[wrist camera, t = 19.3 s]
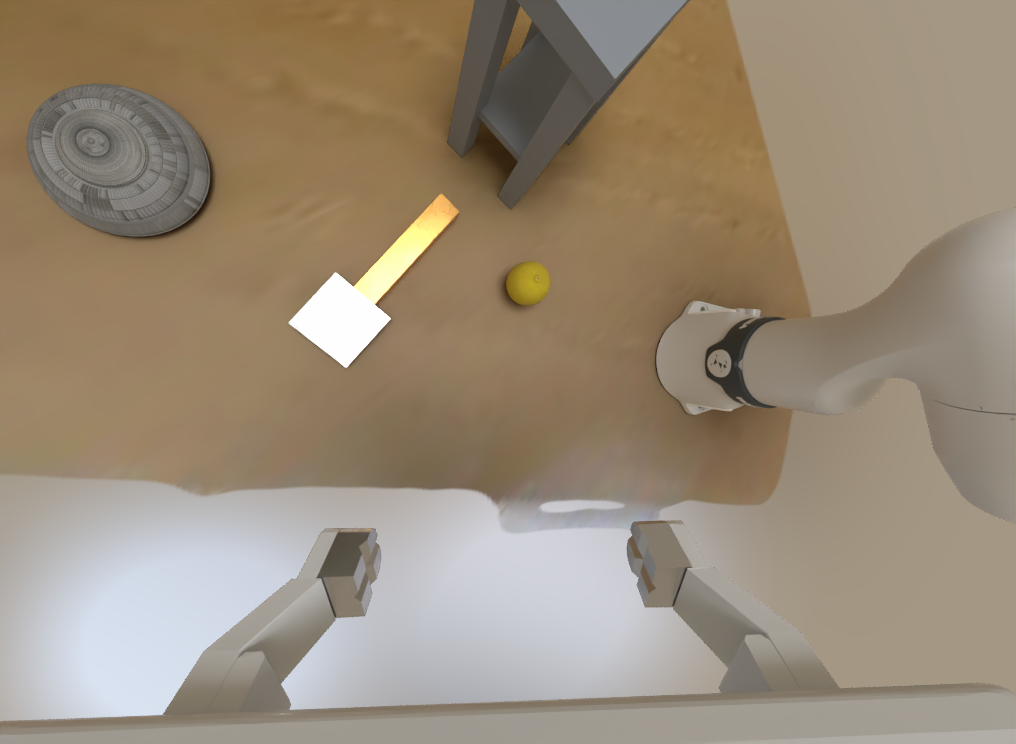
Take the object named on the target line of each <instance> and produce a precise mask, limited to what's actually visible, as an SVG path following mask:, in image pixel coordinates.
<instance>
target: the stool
mask: <svg viewBox="0 0 1016 744" xmlns="http://www.w3.org/2000/svg"><path fill="white" fill-rule="evenodd" d="M689 1H690V0H475V1H474V6H473V11H472V17H471V22H470V27H469V32H468V37H467V43H466V48H465V53H464V58H463V63H462V68H461V74H460V79H459V84H458V89H457V94H456V100H455V105H454V110H453V115H452V120H451V125H450V131H449V136H448V141H447V143H448V144H449V145H450V146H451V147H452V148H453V149H454V150H455V151H456V152H457V153H458V154H459V156H460V157H461V158H462V157H463V156H464V155H465V154H466V153H467V152H468V151H469V150H470V149H471V147H472V146H473V145H474V143H475V140H476V137H477V134H478V131H479V128H480V125H481V122H483V123H484V124H485V125H486V127H487V128H488V129H489V130H490V131H491V132H492V133H493V134H494V135H495V137H496V138H497V139H498V140H499V141H500V142H501V143H502V144H503V146H504V147H505V148H506V149H507V150H508V151H509V152H510V153H511V154H512V156H513V157H514V158H515V159H516V160H517V161H518V163H517V164H516V166H515V168H514V169H513V171H512V173H511V174H510V176H509V177H508V179H507V181H506V182H505V184H504V186H503V187H502V189H501V191H500V192H499V194H498V197H499V198H500V199H501V200H502V201H503V202H504V203H505V204H506V205H507V206H508V208H509V209H510V210H511V209H512V208H513V206H514V205H515V204H516V203H517V202H518V201H519V200H520V199H521V198H522V196H523V195H524V194H525V193H526V191H527V190H528V189H529V187H530V186H531V185H532V184H533V182H534V181H535V180H536V178H537V177H538V176H539V175H540V173H541V172H542V171H543V169H544V168H545V167H546V166H547V164H548V163H549V162H550V161H551V159H552V158H553V157H554V155H555V154H556V153H557V152H558V150H559V149H560V148H561V146H562V145H563V144H564V143H565V142H566V143H567V144H568V145H570V143H571V142H572V141H573V140H574V139H575V138H576V137H577V136H578V135H579V134H580V132H581V131H582V130H583V129H584V127H585V126H586V125H587V124H588V123H589V121H590V120H591V119H592V118H593V116H594V115H595V114H596V113H597V112H598V110H599V109H600V108H601V107H602V105H603V104H604V103H605V102H606V101H607V99H608V98H609V97H610V96H611V94H612V93H613V92H614V91H615V90H616V88H617V87H618V86H619V85H620V83H621V82H622V81H623V80H624V79H625V77H626V76H627V75H628V74H629V72H630V71H631V70H632V69H633V68H634V66H635V65H636V64H637V63H638V61H639V60H640V59H641V58H642V57H643V55H644V54H645V53H646V52H647V50H648V49H649V48H650V47H651V46H652V44H653V43H654V42H655V41H656V39H657V38H658V37H659V36H660V35H661V33H662V32H663V31H664V30H665V28H666V27H667V26H668V25H669V24H670V22H671V21H672V20H673V19H674V17H675V16H676V15H677V14H678V13H679V12H680V11H681V10H682V8H683V7H684V6H685V5H686V4H687V3H688V2H689ZM520 5H521V7H522V8H523V9H524V11H525V12H526V13H527V14H528V16H529V17H530V18H531V20H532V23H531V26H530V28H529V31H528V33H527V36H526V39H525V41H524V44H523V46H522V49H521V51H520V52H519V53H518V54H517V55H516V56H515V57H514V58H513V59H512V60H511V61H510V62H509V63H508V65H507V66H506V67H505V68H504V69H503V70H502V71H501V72H500V73H499V74H498V71H499V68H500V65H501V62H502V59H503V56H504V53H505V50H506V47H507V43H508V40H509V37H510V34H511V31H512V28H513V25H514V22H515V19H516V16H517V13H518V10H519V7H520ZM497 74H498V75H497Z"/></svg>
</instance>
